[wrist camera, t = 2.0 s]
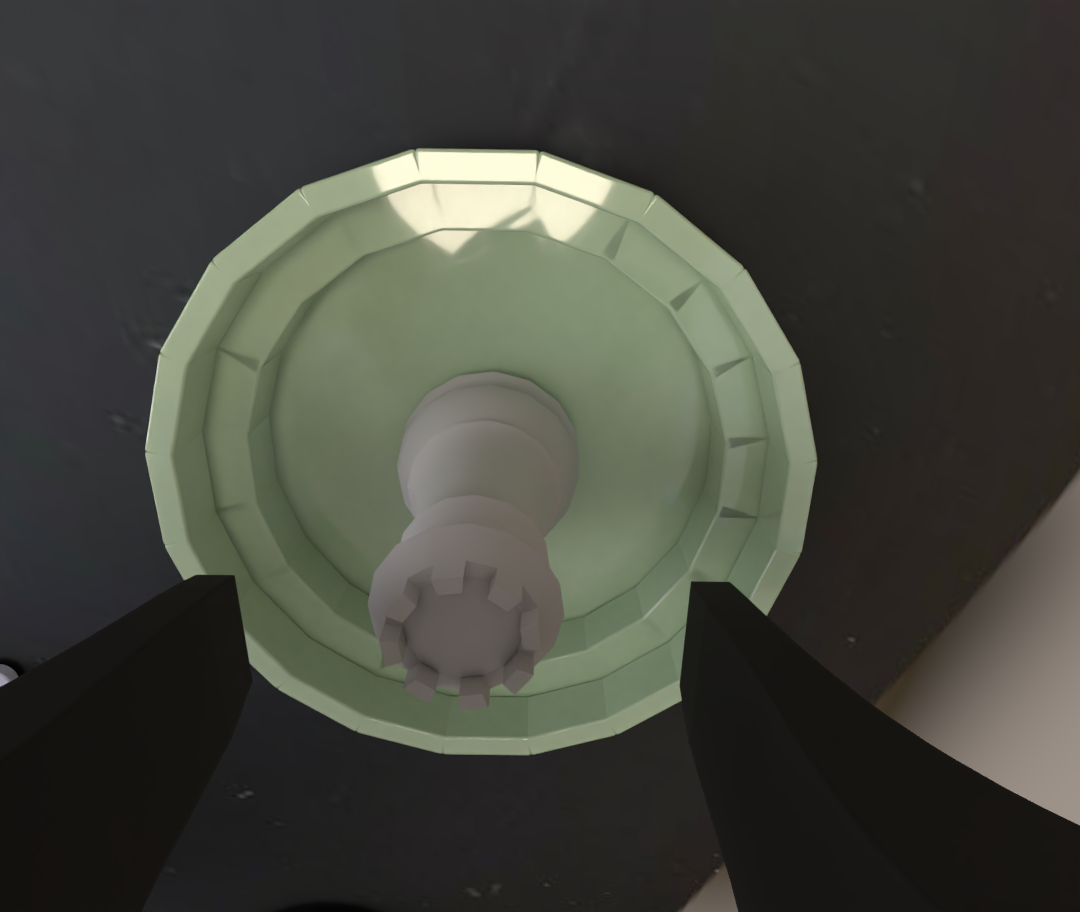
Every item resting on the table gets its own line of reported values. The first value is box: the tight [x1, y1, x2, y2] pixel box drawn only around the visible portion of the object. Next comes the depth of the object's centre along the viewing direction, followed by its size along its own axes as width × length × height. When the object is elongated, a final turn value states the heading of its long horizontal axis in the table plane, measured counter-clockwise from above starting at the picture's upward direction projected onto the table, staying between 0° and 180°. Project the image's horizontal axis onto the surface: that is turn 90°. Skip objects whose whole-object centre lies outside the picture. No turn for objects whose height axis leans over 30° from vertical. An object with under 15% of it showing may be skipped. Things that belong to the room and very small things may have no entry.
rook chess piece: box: [368, 371, 580, 711], centre depth 15 cm, size 4×4×8 cm
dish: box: [145, 148, 817, 755], centre depth 18 cm, size 14×14×4 cm
